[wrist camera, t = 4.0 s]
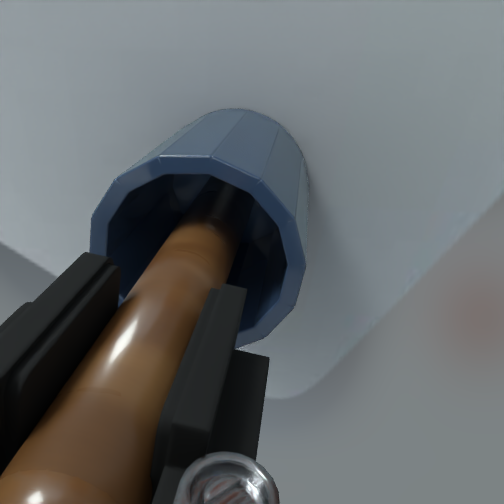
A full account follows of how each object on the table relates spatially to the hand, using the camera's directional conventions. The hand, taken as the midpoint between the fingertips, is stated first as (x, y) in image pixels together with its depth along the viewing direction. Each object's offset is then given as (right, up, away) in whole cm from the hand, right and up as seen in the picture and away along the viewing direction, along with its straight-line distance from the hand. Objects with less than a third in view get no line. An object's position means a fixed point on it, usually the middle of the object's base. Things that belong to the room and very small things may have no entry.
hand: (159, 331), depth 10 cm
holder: (+1, +5, +10) cm, 11 cm away
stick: (+1, +4, +10) cm, 11 cm away
